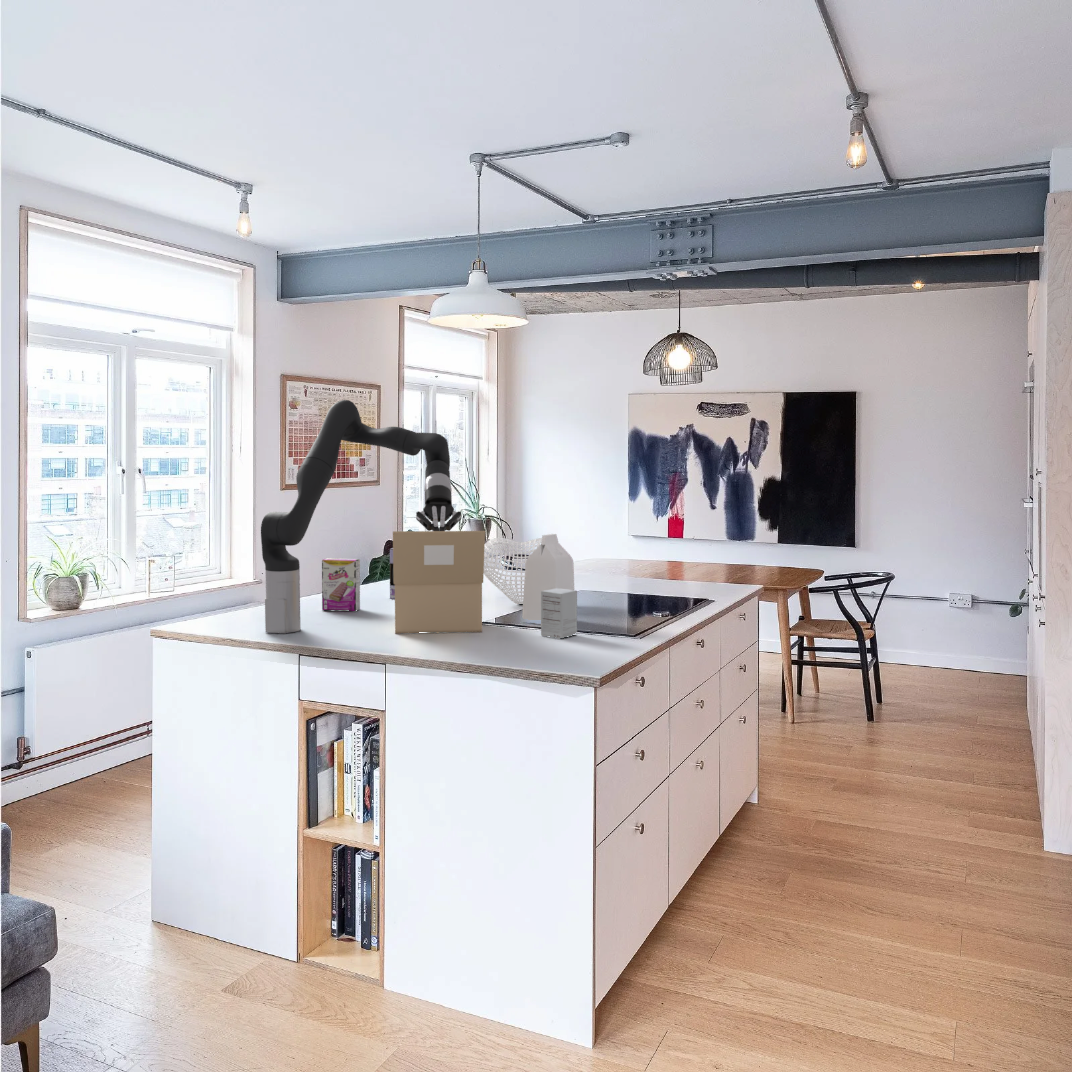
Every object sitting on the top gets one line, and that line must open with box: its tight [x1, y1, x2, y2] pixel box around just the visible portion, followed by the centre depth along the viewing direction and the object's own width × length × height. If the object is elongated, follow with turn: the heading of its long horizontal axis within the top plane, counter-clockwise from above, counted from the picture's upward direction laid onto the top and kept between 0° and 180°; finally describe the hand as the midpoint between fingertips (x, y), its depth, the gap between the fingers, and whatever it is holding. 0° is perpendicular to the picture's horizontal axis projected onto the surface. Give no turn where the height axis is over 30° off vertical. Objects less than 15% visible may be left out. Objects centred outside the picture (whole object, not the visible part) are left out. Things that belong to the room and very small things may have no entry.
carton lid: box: [392, 530, 486, 584], centre depth 259 cm, size 16×25×1 cm
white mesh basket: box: [483, 537, 542, 605], centre depth 312 cm, size 28×16×22 cm, turn 90°
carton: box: [394, 583, 483, 635], centre depth 271 cm, size 16×24×14 cm, turn 97°
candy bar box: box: [321, 557, 361, 612], centre depth 301 cm, size 11×5×16 cm, turn 84°
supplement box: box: [540, 588, 578, 639], centre depth 261 cm, size 7×7×13 cm
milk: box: [521, 533, 575, 620], centre depth 282 cm, size 12×12×26 cm
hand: (439, 540), depth 257 cm, fingers closed
